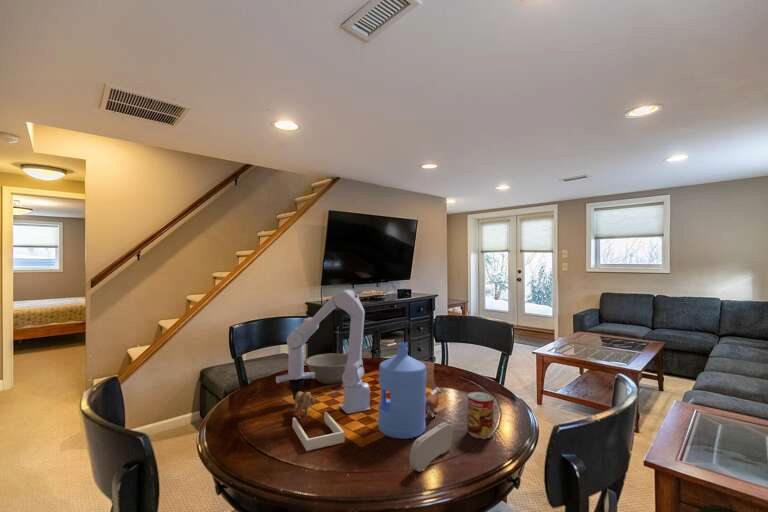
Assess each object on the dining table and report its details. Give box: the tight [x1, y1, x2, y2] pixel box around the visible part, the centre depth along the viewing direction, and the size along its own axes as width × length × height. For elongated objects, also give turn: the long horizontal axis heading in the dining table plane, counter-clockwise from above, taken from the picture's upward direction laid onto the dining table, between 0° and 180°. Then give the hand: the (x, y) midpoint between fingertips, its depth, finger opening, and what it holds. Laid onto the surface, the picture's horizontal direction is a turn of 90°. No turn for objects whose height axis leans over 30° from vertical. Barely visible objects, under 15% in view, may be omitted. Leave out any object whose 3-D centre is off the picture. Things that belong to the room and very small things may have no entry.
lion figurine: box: [293, 390, 316, 419], centre depth 129 cm, size 15×5×9 cm, turn 34°
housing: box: [292, 411, 346, 452], centre depth 113 cm, size 12×17×3 cm
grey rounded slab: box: [409, 421, 454, 473], centre depth 100 cm, size 20×2×8 cm, turn 140°
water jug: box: [377, 341, 427, 440], centre depth 119 cm, size 16×16×28 cm
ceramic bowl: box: [305, 352, 348, 385], centre depth 165 cm, size 22×23×10 cm
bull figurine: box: [425, 387, 443, 419], centre depth 130 cm, size 4×13×8 cm, turn 155°
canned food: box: [467, 391, 494, 435], centre depth 116 cm, size 8×8×12 cm
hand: (295, 398), depth 138 cm, fingers closed
